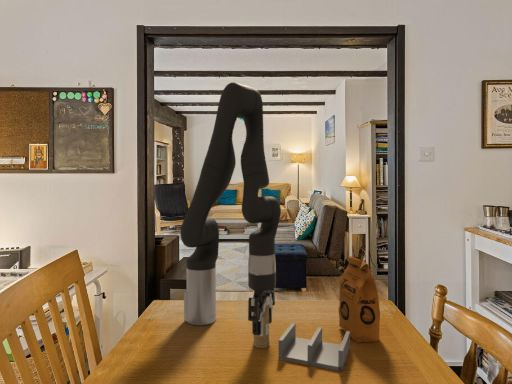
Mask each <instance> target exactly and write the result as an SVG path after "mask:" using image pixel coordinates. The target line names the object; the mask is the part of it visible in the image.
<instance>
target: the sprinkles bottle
mask: <svg viewBox="0 0 512 384" xmlns="http://www.w3.org/2000/svg"><path fill="white" fill-rule="evenodd" d="M269 304H270V298H269V297H268V302H267V303H266V307H265V312H264V313H263V314H262V317H261V334H260V335H259V336H258V335H253V342H252V343H253V346H254V347H256V348H258V349H262V348H268V347H269V346H270V324H269ZM259 309H261V308H259Z"/></svg>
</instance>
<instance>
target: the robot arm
mask: <svg viewBox="0 0 512 384" xmlns="http://www.w3.org/2000/svg"><path fill="white" fill-rule="evenodd" d="M219 98H220V99H219V101H218V106H217V110H216V116H215V121H214V126H213V131H212V135H211V137H210V141H209V145H208V149H207V152H206V154H205V157H204V160H203V163H202V168H201V169H200V174H199V177H198V178H199V179H198V182H197V184H196V187H195V190H194V193H193V196H192V199H191V202H190V204H189V207H188V209H187V211H186V214H185V216H184V218H183V221H182V224H181V227H180V239H181V242H182V243H183V245H184V246H185V247H187V248H192V249H193V248H195V250H194V252H193V253H192V254H190V256H188V257H187V259H186V265H185V266H186V267H185V268H186V273H185V274H186V290H185V291H184V292H183V316H184V317H183V321H184V322H186V323H188V324H190V325H192V326H208V325H210V324H213V323H214V322H216V321H217V279H216V277H217V273H216V271H217V269H216V268H217V266H216V265H217V260H218V256H219V247H220V245H219V243H220V242H219V241H220V229H219V225H218V223H217V220H216V219H215V218H214V217H212V216H210V215H209V214H210V212H211V209H212V208H213V207H214V206H215V204H216V202H217V201H218V200H219V199H220V198H221V196H223V194H224V192H225V191H226V189H228V187H229V184H230V183H231V180H232V177H233V174H234V172H235V168H236V153H235V149H234V144H233V143H234V142H233V134H234V133H233V132H234V128H235V125H236V122H237V119H240V120H241V119H242V120H243V122H244V127H245V130H246V131H245V140H244V142H243V143H244V144H243V147H242V150H241V155H240V168H241V174H242V180H243V181H242V182H243V189H242V202H241V214H242V216H243V218H244V220H245V221H246V222H247V223H249V224H253V225H254V224H261V225H260V227H259V228H258V229H257V230H255V231H252V232H250V234H249V237H248V260H247V261H248V262H247V272H248V274H247V276H248V278H247V282H248V283H247V285H248V288H249V289H251V290H253V296H252V297H248V305H247V306H248V309H247V312H248V313H247V315H248V316H247V320H248V321H249V322H252V324H251V327H252V328H251V329H252V330H251V331H252V336H254V335H258V336H259V335H260V334H261V317H262V314H263V313H264V312H265V307H266V303H267V302H268V297H269V298H270V304H269V325H270V324H272V322H273V318H272V317H273V315H272V314H273V309H274V306H275V305H276V297H275V296H276V294H275V293H276V292H275V291H276V290H275V288H276V287H277V268H276V267H277V265H276V264H277V261H276V250H275V249H276V246H275V245H276V243H275V242H276V241H275V240H276V239H275V238H276V234H277V232H278V227H279V224H280V221H281V213H282V211H281V210H282V209H281V204H280V202H279V200H278V199H277V198H276V197H274V196H271V195H270V196H268V195H267V196H259V190H261V189H265V188H267V187H268V186H269V184H270V178H269V172H268V166H267V160H266V155H265V154H266V153H265V146H264V145H265V142H264V140H265V139H264V107H263V104H264V103H263V98H262V95H261V93H260V92H259V90H258V89H256V88H254V87H251V86H249V85H245V84H241V83H239V82H234V81H233V82H229V83H228V84H227V85H226V86H225V87H224V88H223V90H222V92H221V94H220V97H219ZM259 308H261V309H259Z"/></svg>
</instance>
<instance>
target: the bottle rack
mask: <svg viewBox="0 0 512 384" xmlns="http://www.w3.org/2000/svg"><path fill="white" fill-rule="evenodd" d="M296 325H297V323H296V322H291V324H290V325H289V326H288V327H287V329H286V330H285V331H284V332H283V333H282V335H281V337H280V338H279V339H278V357H277V358H278V360H279V361H285V362H290V363H296V364H301V365H306V366H310V367H316V368H321V369H327V370H331V371H336V372H343V371H344V369H345V365H346V362H347V360H348V358H349V353H350V351H351V337H350V331H346V332H345V334H344V336H343V338H342V341H341V342H340V344H338V343H332V342H326V341H323V327H322V326H318V327H317V329H316V330H315V332H314V334H313V335H312V337H311V338H310V339H308V338H302V337H297V336H296V332H297V331H296V329H297V326H296Z"/></svg>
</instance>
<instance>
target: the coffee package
mask: <svg viewBox="0 0 512 384" xmlns="http://www.w3.org/2000/svg"><path fill="white" fill-rule="evenodd" d="M346 261H347V262H348V264H347V266H346V269H345V270H344V272H343V273H342V275H341V277H340V280H339V292H338V293H339V295H338V296H339V298H338V300H339V304H338V308H337V309H338V319H339V323H338V324H339V327H340V328H341V329H342V330H343V331H344V332H345V333H346V331H350V338H351V339H353V340H354V341H355V343H369V342H371V343H372V342H373V343H375V342H378V341H380V325H381V324H380V321H381V309H380V300H379V299H380V298H379V291H378V288H377V285H376V284H377V283H376V280H375V279H374V276H373V273H372V271H371V269H370V266H369V264H368V263H366V262H365V261H364V260H362V259H359V258H357V257H355V256H348V257H347V258H346Z"/></svg>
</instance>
